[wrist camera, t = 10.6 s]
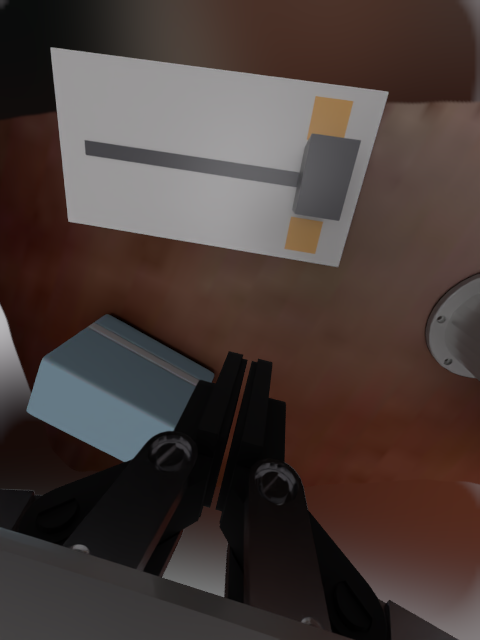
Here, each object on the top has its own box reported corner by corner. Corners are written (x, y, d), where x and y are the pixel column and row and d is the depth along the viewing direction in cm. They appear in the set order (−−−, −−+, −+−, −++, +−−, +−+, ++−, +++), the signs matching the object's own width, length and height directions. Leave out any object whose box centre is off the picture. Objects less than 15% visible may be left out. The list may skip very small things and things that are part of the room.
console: (377, 102, 25) (389, 91, 22) (333, 260, 31) (338, 267, 28) (73, 62, 27) (49, 46, 24) (86, 219, 33) (67, 221, 30)
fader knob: (342, 152, 24) (361, 140, 19) (326, 215, 26) (339, 221, 21) (304, 147, 24) (311, 133, 19) (291, 209, 26) (295, 213, 21)
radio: (91, 359, 41) (-63, 492, 23) (110, 309, 37) (-54, 420, 19) (188, 412, 42) (119, 576, 24) (217, 369, 39) (160, 525, 20)
